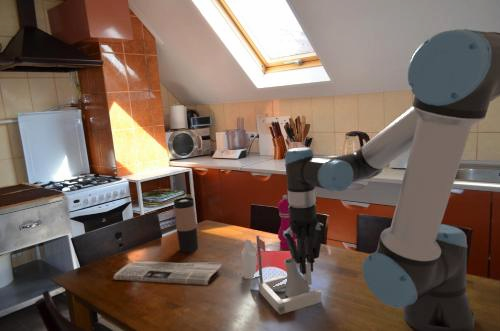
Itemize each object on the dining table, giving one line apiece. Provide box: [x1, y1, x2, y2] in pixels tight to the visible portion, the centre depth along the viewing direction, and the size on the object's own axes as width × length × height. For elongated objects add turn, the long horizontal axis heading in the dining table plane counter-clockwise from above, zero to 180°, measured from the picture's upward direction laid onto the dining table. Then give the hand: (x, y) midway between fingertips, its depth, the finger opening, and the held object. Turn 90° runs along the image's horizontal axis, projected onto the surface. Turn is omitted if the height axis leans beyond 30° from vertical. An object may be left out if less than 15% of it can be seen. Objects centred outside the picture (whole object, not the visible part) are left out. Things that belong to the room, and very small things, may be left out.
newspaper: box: [113, 260, 224, 286], centre depth 126 cm, size 35×12×4 cm, turn 74°
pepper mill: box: [277, 194, 297, 251], centre depth 140 cm, size 7×7×20 cm
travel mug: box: [173, 196, 199, 253], centre depth 146 cm, size 8×8×20 cm
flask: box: [283, 257, 311, 298], centre depth 105 cm, size 7×7×10 cm
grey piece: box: [240, 238, 258, 280], centre depth 119 cm, size 6×12×6 cm
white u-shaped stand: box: [256, 235, 323, 315], centre depth 104 cm, size 14×12×17 cm
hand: (307, 282), depth 107 cm, fingers closed
